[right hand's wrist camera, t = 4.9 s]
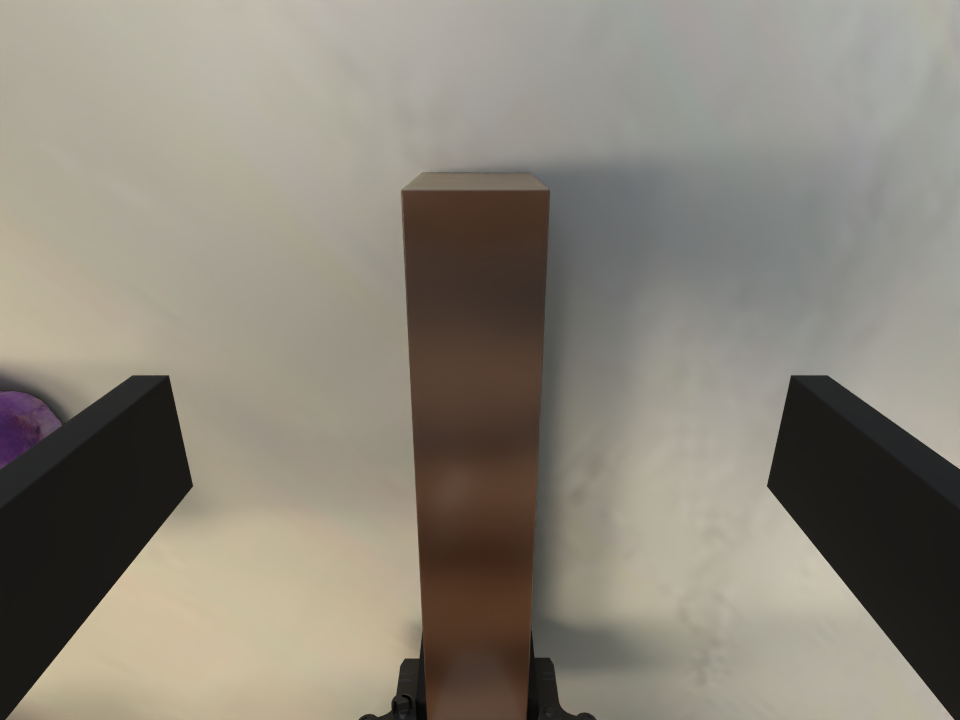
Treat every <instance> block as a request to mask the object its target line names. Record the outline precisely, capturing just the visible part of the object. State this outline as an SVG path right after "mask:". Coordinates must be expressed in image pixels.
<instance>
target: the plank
mask: <svg viewBox="0 0 960 720" xmlns="http://www.w3.org/2000/svg"><path fill="white" fill-rule="evenodd" d="M401 200H402V221H403V241H404V261H405V281H406V302H407V322H408V342H409V362H410V383H411V403H412V423H413V443H414V464H415V484H416V504H417V524H418V544H419V565H420V585H421V605H422V625H423V646H424V666H425V686H426V706H427V720H527V705H528V683H529V660H530V637H531V614H532V591H533V569H534V546H535V523H536V500H537V477H538V454H539V432H540V409H541V386H542V363H543V340H544V318H545V295H546V272H547V249H548V226H549V203H550V190H549V189H548V188H547V187H546V186H545V185H543V184H542V183H541V182H540V181H539V180H538V179H537V178H535V177H534V176H533V175H532V174H531V173H421V174H420V175H419V176H418V177H416V178H415V179H414V180H413V181H412V182H410V183H409V184H408V185H407V186H406V187H404V188H403V189H402V190H401Z"/></svg>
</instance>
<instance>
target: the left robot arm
mask: <svg viewBox="0 0 960 720" xmlns="http://www.w3.org/2000/svg"><path fill="white" fill-rule="evenodd" d="M391 706H392V710H391V711H390V712H389V713H388V714H386V715H383V716H380V717H376V716H375V715H373V714H367V715H364V716H362V717H361V718H360V719H359V720H427V706H426V686H425V666H424V646H423V632H422V641H421V650H420V659H404V661H403V663H402V664H401V666H400V673H399V680H398V687H397V694H396V696H395V697H394V698H393V700H392V705H391ZM527 720H596V719H595V717H594V716H593V715H591V714H589V713H580V714H578V715H577V716H575V715H571V714H569V713H567V712H565V711H564V710H563V709H562V708H561V706H560V704H559V699H558V692H557V685H556V678H555V671H554V665H553V663H552V661H551V660H550V658H534V649H533V639H532V630H531V637H530V660H529V683H528V705H527Z"/></svg>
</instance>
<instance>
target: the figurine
mask: <svg viewBox="0 0 960 720" xmlns="http://www.w3.org/2000/svg"><path fill="white" fill-rule="evenodd" d="M61 426H62V423H61V422H60V420H58V419H57V417H56V416H55V415H54V413H53V412H51V411H50V408H49V407H48V406H47V405H46V404H45V403H44V402H43V401H41V400H40V399H38V398H35V397H34V396H33V395H31V394H28V393H22V392H17V391H8V392H4V391H0V469H2V468H3V467H4V466H6V465H7V464H9V463H10V462H11V461H13V460H14V459H16V458H17V457H18V456H20V455H21V454H23V453H24V452H25V451H27V450H28V449H30V448H31V447H33V446H34V445H35V444H37V443H38V442H40V441H41V440H42V439H44V438H45V437H47V436H48V435H49V434H51V433H52V432H54V431H55V430H56V429H58V428H59V427H61Z"/></svg>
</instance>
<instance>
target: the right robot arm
mask: <svg viewBox="0 0 960 720" xmlns="http://www.w3.org/2000/svg"><path fill="white" fill-rule="evenodd" d="M192 487H193V484H192V479H191V475H190V470H189V466H188V461H187V456H186V452H185V447H184V443H183V438H182V434H181V429H180V424H179V420H178V415H177V411H176V406H175V401H174V397H173V392H172V388H171V383H170V378H169V375H133V376H131V377H130V378H128V379H127V380H125V381H124V382H123V383H121V384H120V385H118V386H117V387H116V388H114V389H113V390H111V391H110V392H109V393H107V394H106V395H104V396H103V397H102V398H100V399H99V400H97V401H96V402H94V403H93V404H92V405H90V406H89V407H87V408H86V409H85V410H83V411H82V412H80V413H79V414H78V415H76V416H75V417H73V418H72V419H71V420H69V421H68V422H66V423H65V424H64V425H62V426H61V427H59V428H58V429H56V430H55V431H54V432H52V433H51V434H49V435H48V436H47V437H45V438H44V439H42V440H41V441H40V442H38V443H37V444H35V445H34V446H33V447H31V448H30V449H28V450H27V451H25V452H24V453H23V454H21V455H20V456H18V457H17V458H16V459H14V460H13V461H11V462H10V463H9V464H7V465H6V466H4V467H3V468H2V469H0V720H6V718H7V717H8V716H9V715H10V713H11V712H12V711H13V710H14V708H15V707H16V706H17V705H18V704H19V702H20V701H21V700H22V699H23V697H24V696H25V695H26V694H27V692H28V691H29V690H30V689H31V687H32V686H33V685H34V684H35V682H36V681H37V680H38V679H39V677H40V676H41V675H42V674H43V672H44V671H45V670H46V669H47V667H48V666H49V665H50V664H51V662H52V661H53V660H54V659H55V657H56V656H57V655H58V654H59V652H60V651H61V650H62V649H63V647H64V646H65V645H66V644H67V642H68V641H69V640H70V639H71V638H72V636H73V635H74V634H75V633H76V631H77V630H78V629H79V628H80V626H81V625H82V624H83V623H84V621H85V620H86V619H87V618H88V616H89V615H90V614H91V613H92V611H93V610H94V609H95V608H96V606H97V605H98V604H99V603H100V601H101V600H102V599H103V598H104V596H105V595H106V594H107V593H108V591H109V590H110V589H111V588H112V586H113V585H114V584H115V583H116V581H117V580H118V579H119V578H120V577H121V575H122V574H123V573H124V572H125V570H126V569H127V568H128V567H129V565H130V564H131V563H132V562H133V560H134V559H135V558H136V557H137V555H138V554H139V553H140V552H141V550H142V549H143V548H144V547H145V545H146V544H147V543H148V542H149V540H150V539H151V538H152V537H153V535H154V534H155V533H156V532H157V530H158V529H159V528H160V527H161V525H162V524H163V523H164V522H165V520H166V519H167V518H168V517H169V515H170V514H171V513H172V512H173V511H174V509H175V508H176V507H177V506H178V504H179V503H180V502H181V501H182V499H183V498H184V497H185V496H186V494H187V493H188V492H189V491H190V489H191V488H192ZM767 487H768V488H769V489H770V491H771V492H772V493H773V494H774V496H775V497H776V498H777V499H778V501H779V502H780V503H781V504H782V506H783V507H784V508H785V509H786V511H787V512H788V513H789V514H790V515H791V517H792V518H793V519H794V520H795V522H796V523H797V524H798V525H799V527H800V528H801V529H802V530H803V532H804V533H805V534H806V535H807V537H808V538H809V539H810V540H811V542H812V543H813V544H814V545H815V547H816V548H817V549H818V550H819V552H820V553H821V554H822V555H823V557H824V558H825V559H826V560H827V562H828V563H829V564H830V565H831V567H832V568H833V569H834V570H835V572H836V573H837V574H838V575H839V577H840V578H841V579H842V580H843V581H844V583H845V584H846V585H847V586H848V588H849V589H850V590H851V591H852V593H853V594H854V595H855V596H856V598H857V599H858V600H859V601H860V603H861V604H862V605H863V606H864V608H865V609H866V610H867V611H868V613H869V614H870V615H871V616H872V618H873V619H874V620H875V621H876V623H877V624H878V625H879V626H880V628H881V629H882V630H883V631H884V633H885V634H886V635H887V636H888V638H889V639H890V640H891V641H892V643H893V644H894V645H895V646H896V647H897V649H898V650H899V651H900V652H901V654H902V655H903V656H904V657H905V659H906V660H907V661H908V662H909V664H910V665H911V666H912V667H913V669H914V670H915V671H916V672H917V674H918V675H919V676H920V677H921V679H922V680H923V681H924V682H925V684H926V685H927V686H928V687H929V689H930V690H931V691H932V692H933V694H934V695H935V696H936V697H937V699H938V700H939V701H940V702H941V704H942V705H943V706H944V707H945V708H946V710H947V711H948V712H949V713H950V715H951V716H952V717H953V718H954V720H960V469H958V468H957V467H956V466H954V465H953V464H951V463H950V462H949V461H947V460H946V459H944V458H943V457H942V456H940V455H939V454H937V453H936V452H935V451H933V450H932V449H930V448H929V447H927V446H926V445H925V444H923V443H922V442H920V441H919V440H918V439H916V438H915V437H913V436H912V435H911V434H909V433H908V432H906V431H905V430H904V429H902V428H901V427H899V426H898V425H896V424H895V423H894V422H892V421H891V420H889V419H888V418H887V417H885V416H884V415H882V414H881V413H880V412H878V411H877V410H875V409H874V408H873V407H871V406H870V405H868V404H867V403H866V402H864V401H863V400H861V399H860V398H858V397H857V396H856V395H854V394H853V393H851V392H850V391H849V390H847V389H846V388H844V387H843V386H842V385H840V384H839V383H837V382H836V381H835V380H833V379H832V378H830V377H829V376H827V375H791V378H790V383H789V388H788V392H787V397H786V401H785V406H784V411H783V415H782V420H781V424H780V429H779V434H778V438H777V443H776V447H775V452H774V456H773V461H772V466H771V470H770V475H769V479H768V484H767Z"/></svg>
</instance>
